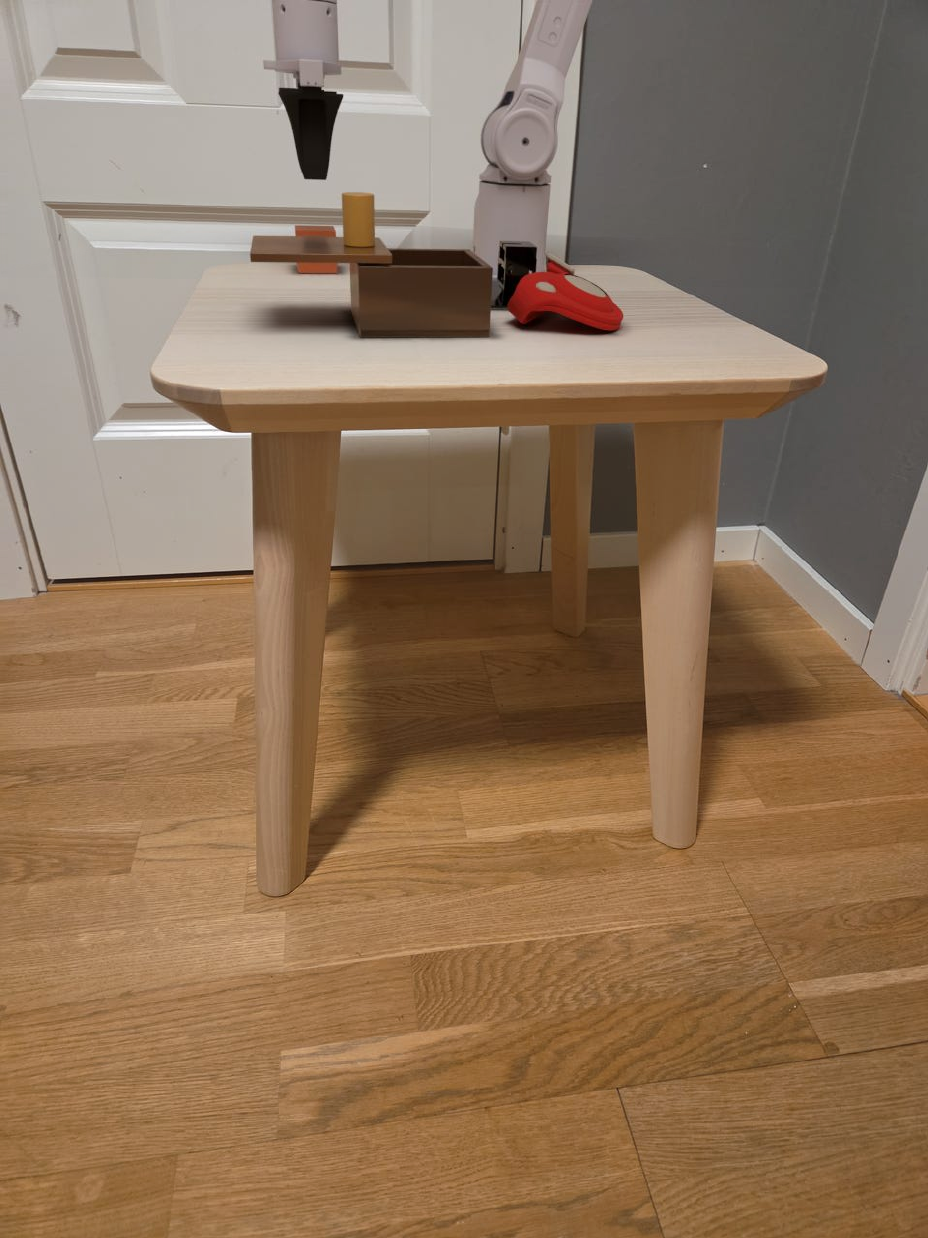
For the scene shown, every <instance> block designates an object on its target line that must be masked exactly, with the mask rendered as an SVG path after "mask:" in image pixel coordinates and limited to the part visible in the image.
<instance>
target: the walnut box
mask: <svg viewBox="0 0 928 1238" xmlns="http://www.w3.org/2000/svg"><path fill="white" fill-rule="evenodd" d="M387 249H388V250H389V251H390V253H391V254H392V264H387V263H349V291H350V312H351V315H352V317H353V321H354V323H355V327H356V329H357V332H358V334H359V337H360V338H486V337H487V338H489V337H490V332H491V311H492V309H491V295H492V277H493V268H492V267H491V266H490V265H488V264H487V263H486V262H485V261H483V260H482V259H481V258H479V257H478V256H477V255H476V254H474V253H473V250H471V249H467V248H466V249H465V248H464V249H463V248H461V249H460V248H455V249H454V248H401V247H400V248H399V247H398V248H396V247H394V248H393V247H392V248H391V247H387Z"/></svg>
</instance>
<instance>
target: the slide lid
mask: <svg viewBox="0 0 928 1238" xmlns="http://www.w3.org/2000/svg"><path fill="white" fill-rule="evenodd" d="M375 209H376V208H375V194H374V193H372V192H364V191H363V192H362V191H359V192H358V191H347V192H346V191H345V192H342V193H341V213H342V214H341V215H342V236H336V237H318V236H295V235H252V241H251V246H250V252H249V256H250V262H251V263H290V264H291V263H295V264H297V263H337V264H350V263H387V264H392V254H391V253H390V251H389V250H388V249H387V248H388V247H387V246H386V245H385V243H384V241H382V239H381V238H380V237H376V215H375V213H376V212H375Z"/></svg>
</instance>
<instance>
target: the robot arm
mask: <svg viewBox="0 0 928 1238" xmlns="http://www.w3.org/2000/svg"><path fill="white" fill-rule="evenodd" d="M593 1H594V0H536V1H535V4H534V8H533V11H532V14H531V17H530V20H529V23H528V26H527V30H526V33H525V35H524V39H523V41H522V45H521V47H520V51H519V53H518V57H517V61H516V63H515V64H514V66H513V69H512V71H511V73H510V75H509V78H508V80H507V82H506V83H505V84H506V85H505V86H504V90H503V93H502V96H501V98H500V100H499V102H498V103H497V104H496V106H495V107H494V108H493V109H492V110H491V111H490V112H489V113H488V115H487V116H486V118H485V120H484V122H483V124H482V127H481V130H480V149H481V153H482V155H483V157H484V159H485V160H486V162H487V163H488V165H487V166H486V167H485V170H484V171H483V172H481V173H480V174H479V181H478V194H477V196H476V199H475V201H474V206H473V207H474V208H473V231H472V252H473V253H474V254H476V255H477V256H478V257H479V258H481V259H482V260H483V261H485V262H486V263H487V264H488V265H490V266H491V267H492V268H493V277H492V280H497V267H498V251H499V242H500V241H529V242H531V243H532V244H533V245H535V246H536V247H537V255H536V259H537V264H536V272H547V271H546V270H545V269H544V267H545V259H546V245H547V234H548V222H549V211H550V207H549V206H550V200H551V199H550V198H551V195H550V194H551V187H552V186H551V185H552V184H550V183H552V175H550V174H549V173H548V170H547V169H548V168H549V167H550V165H551V164H552V162H553V161H554V159H555V157H556V153H557V149H558V142H559V138H558V137H559V135H558V120H559V115H560V112H561V110H562V107H563V104H564V97H565V85H566V84H565V83H566V78H567V75H568V72H569V70H570V66H571V64H572V61H573V58H574V55H575V53H576V49H577V47H578V43H579V41H580V38H581V35H582V32H583V29H584V27H585V23H586V21H587V18H588V15H589V12H590V10H591V7H592V4H593ZM271 5H272V6H271V7H272V21H273V36H274V50H275V51H274V53H275V60H271V59H263V61H262V63H263V65H262V66H263V70H268V71H269V70H271V71H274V72H276V73H283V74H290V75H292V78H293V79H294V80H295V87H278V93H277V94H278V96H279V97H280V100H281V103H282V104H283V106H284V109H285V111H286V114H287V118H288V120H289V124H290V127H291V131H292V136H293V141H294V147H295V151H296V158H297V161H298V165H299V168H300V172H301V173H302V176H303V179H304V180H314V181H317V180H319V181H326V180H327V178H328V174H329V167H330V158H331V150H332V149H331V148H332V140H333V133H334V127H335V123H336V119H337V116H338V112H339V110H340V108H341V105H342V102H343V99H344V94H343V93H338V92H337V91H334V90H333V91H332V90H331V91H330V90H325V89H322V88H324V87H325V82H324V81H325V80H324V79H325V78H326V77H325V76H342V65H341V64H340V52H339V51H340V50H339V25H338V21H339V20H338V0H271ZM501 266H503V265H501ZM531 273H532V271H530V270H529V274H531Z"/></svg>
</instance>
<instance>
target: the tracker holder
mask: <svg viewBox="0 0 928 1238" xmlns="http://www.w3.org/2000/svg"><path fill="white" fill-rule="evenodd" d="M545 269H546V270H545V271H546V272H535V273H531V274H528V275H525V276H524V277H523V278H522V279H521V281H520V282H519V284H518V286H517V288H516V290H515V293H514V295H513V296H512V297H511V299H510V300H509V302H508V305H507V309H506V310H508V312H509V313H511V315H512V316H513V317H514V318H515V319H516V320H517V321H518V322H519V323H520V324H522V325H525V324H528V323H530V322H531V321H533V320H534V319H536V318H538V317H539V316H541V315H542V314H544V313H546V312H554V313H557V314H559V315H562V316H564V317H567V318H569V319H571V320H573V321H576V322H579V323H582V324H584V325H587V326H590V327H592V328H595V329H600V330H602V331H615V330H618V329H619V328H620V326H621V324H622V322H623V319H624V313H623V311H622V309H621V308H620V307H619V306H618V305H617V304H616V303H614V301H613V300H612V297H610V295H609V294H608V293H607V292H606V291H605V290H604V289H603V288H601V287H600V286H599V285H597V284H595V283H594V282H592V281H590V280H588V279H586V278H584V277H581V276H578V275H575V271H576V270H575V268H574V267H573V266H571V265H570V264H568V263H566V261H563V260H561V259H560V258H558V257H557V256H555V255H554V254H552V253H550V252H546V253H545Z"/></svg>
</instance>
